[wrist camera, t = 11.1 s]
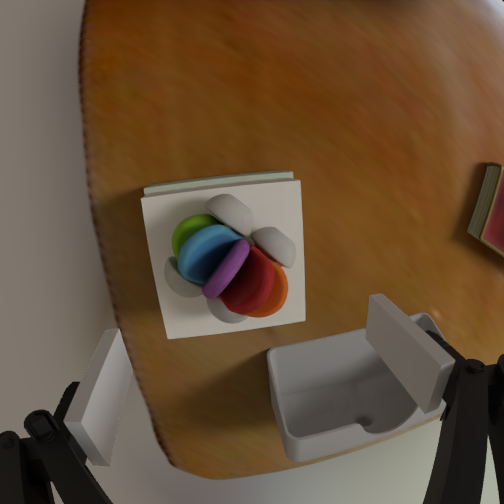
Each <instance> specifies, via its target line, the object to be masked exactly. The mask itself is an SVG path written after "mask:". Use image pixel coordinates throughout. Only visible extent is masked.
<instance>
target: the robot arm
mask: <svg viewBox="0 0 504 504" xmlns="http://www.w3.org/2000/svg"><path fill="white" fill-rule="evenodd" d="M502 1H504V0H502ZM365 338H366V340H367V341H368V342H369V343H370V345H371V346H372V347H373V348H374V350H375V351H376V352H377V353H378V355H379V356H380V357H381V358H382V360H383V361H384V362H385V363H386V365H387V366H388V367H389V369H390V370H391V371H392V372H393V374H394V375H395V376H396V377H397V379H398V380H399V381H400V383H401V384H402V385H403V386H404V388H405V389H406V390H407V392H408V393H409V394H410V395H411V397H412V398H413V399H414V401H415V402H416V403H417V405H418V406H419V407H420V409H421V410H422V411H423V412H424V414H427V413H429V412H431V411H434V410H436V409H438V408H439V406H440V403H441V400H442V399H443V400H444V401H445V402H446V406H445V409H444V411H443V414H442V416H441V418H440V421H442V419H443V421H442V427H441V432H440V437H439V443H438V447H437V452H436V457H435V461H434V465H433V469H432V473H431V477H430V481H429V485H428V488H427V491H426V495H425V498H424V501H423V504H480V501H481V494H482V488H483V481H484V473H485V464H486V453H487V438H488V436H489V440H490V444H491V450H492V454H493V460H494V465H495V472H496V478H497V485H498V491H499V501H500V504H504V354H502V355H501V356H500V357H499V359H498V362H497V364H493V365H486V366H485V365H484V363H483V362H481V361H479V360H476V359H467V360H466V359H465V358H464V357H463V356H461V355H460V354H459V353H458V352H457V351H456V350H455V349H454V348H453V347H452V346H450V345H449V344H448V343H447V342H446V341H444V339H443V338H442V337H440V336H439V335H438V334H437V333H434V332H432V331H430V330H427V331H423V330H422V329H421V328H420V327H419V326H418V325H417V324H416V323H415V322H414V321H412V320H411V319H410V318H409V317H408V316H407V315H406V314H405V313H404V312H402V311H401V310H400V309H399V308H398V307H397V306H396V305H395V304H393V303H392V302H391V301H390V300H389V299H388V298H387V297H385V296H384V295H383V294H382V293H379V294H374V295H369V306H368V317H367V328H366V337H365ZM132 373H133V369H132V366H131V363H130V361H129V358H128V355H127V352H126V349H125V346H124V343H123V339H122V336H121V333H120V330H119V329H108V330H107V329H106V330H105V332H104V334H103V336H102V338H101V340H100V342H99V344H98V346H97V348H96V350H95V352H94V354H93V356H92V358H91V360H90V362H89V365H88V367H87V369H86V371H85V373H84V375H83V377H82V380H81V382H72V383H71V384H70V385H69V386H68V387H67V388H66V390H65V392H64V394H63V396H62V397H63V398H61V400H60V404H59V405H58V406H57V409H56V411H55V413H54V415H53V416H52V415H51V414H50V413H49V411H46V410H36V411H33V412H32V413H30V414H29V415H28V416H27V417H26V418H25V421H24V428H25V429H26V430H27V432H28V434H29V435H30V436H31V437H30V438H22V439H20V438H19V436H18V435H17V434H16V433H15V432H13V431H5V432H3V433H1V434H0V504H55V502H54V498H53V493H52V488H51V483H50V482H51V481H52V482H53V484H54V486H55V488H56V490H57V492H58V494H59V495H60V497H61V499H62V501H63V503H64V504H113V503H112V502H111V500H110V499H109V498H108V496H107V495H106V494H105V492H104V491H103V489H102V488H101V487H100V485H99V484H98V482H97V481H96V479H95V478H94V476H93V475H92V473H91V472H90V470H89V469H88V467H87V466H86V465H85V462H86V459H87V458H88V459H89V460H90V462H91V463H92V464H93V465H99V466H109V465H110V461H111V456H112V451H113V447H114V443H115V438H116V434H117V429H118V426H119V422H120V417H121V414H122V410H123V406H124V402H125V398H126V395H127V391H128V387H129V383H130V380H131V377H132Z"/></svg>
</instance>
